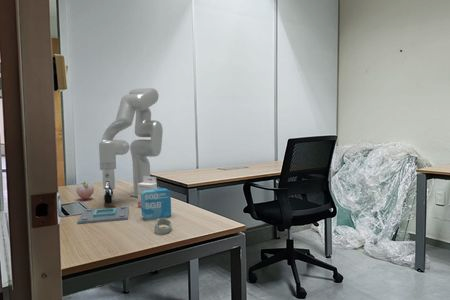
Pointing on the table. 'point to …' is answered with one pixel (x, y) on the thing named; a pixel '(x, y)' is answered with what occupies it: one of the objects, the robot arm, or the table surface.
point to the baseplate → (104, 215)
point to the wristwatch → (162, 222)
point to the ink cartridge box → (146, 186)
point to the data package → (155, 203)
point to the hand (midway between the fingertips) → (109, 201)
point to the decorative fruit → (85, 190)
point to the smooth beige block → (110, 205)
